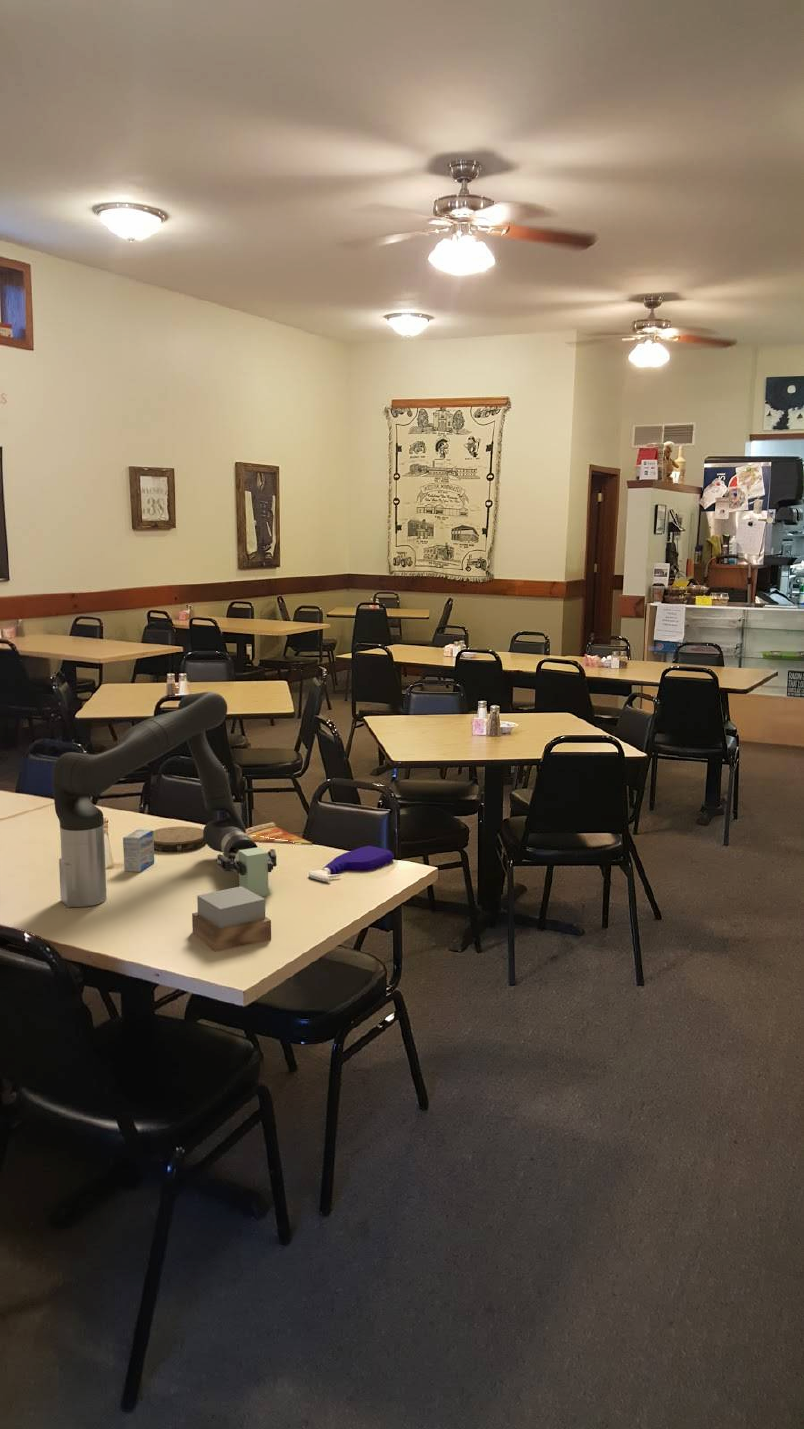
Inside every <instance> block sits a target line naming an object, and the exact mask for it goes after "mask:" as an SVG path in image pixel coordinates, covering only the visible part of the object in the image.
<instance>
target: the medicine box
mask: <svg viewBox="0 0 804 1429" xmlns="http://www.w3.org/2000/svg"><path fill="white" fill-rule="evenodd" d="M153 831H154V830H152V829H142V828H141V829H136V830H134V831H132V832H130V834H128V835H126V836H124V837H122V850H123V852H122V853H123V866H124V867H123V868H124V869H123V870H124V872H132V873H133V872H134V873H135V872H136V873H142V872H143V871H144V870H145V871H146V870H147V869H148V868H149V867H150V866H152V865H153V864H155V851H154V838H153Z"/></svg>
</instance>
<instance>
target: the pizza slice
mask: <svg viewBox="0 0 804 1429" xmlns="http://www.w3.org/2000/svg"><path fill="white" fill-rule="evenodd" d="M245 829H246V834H247V835H248V836H249V837H250V838H251V839H252V840H253V841H254V842H255V843H271V844H272V843H273V844H288V845H289V844H292V845H296V844H295V843H301V844H300V845H307V846H308V845H310V846H311V845H312V846H313V842H311V841H308V840H307V839H304V838H302V837H300V836H297V835H295V834H293V833H291V832H288V831H286V830H283V829H282V828H279V827H277V825H276V823H275V822H274V821H273V822H266V823H261V824H258V825H254V826H251V827H249V828H245ZM251 835H256V836H251ZM260 836H264V838H263V837H260ZM265 837H269V839H268V838H265ZM270 838H275V839H281V840H275V839H270ZM282 840H288V841H282ZM293 842H294V843H293Z"/></svg>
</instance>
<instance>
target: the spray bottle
mask: <svg viewBox="0 0 804 1429" xmlns="http://www.w3.org/2000/svg"><path fill="white" fill-rule="evenodd" d="M394 856H395V855H394V853H393V852H392V851H391V850H389V849H385V848H381V847H377V846H371V845H366V846H362V847H359V848H358V847H357V848H356V849H353V850H350V851H346V852H344V853H342V854H339V855H338V856H336V857H334V858H333V859H332V860H331V861H330V862H328V863H327V864H326V865H325V866H324V867H323V868H322V869H317V870H308V877H309V878H311V879H314V880H317V881H320V882H324V883H331V881H332V878H336V877H341V873H343V872H346V870H348V871H349V872H351V871H353V872H369V871H373V870H376V869H378V868H381V867H384V866H387V865H389V864H391V863H392V862H393V861H395V860H394V858H395V857H394ZM337 873H338V874H337Z"/></svg>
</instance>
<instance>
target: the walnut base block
mask: <svg viewBox="0 0 804 1429" xmlns="http://www.w3.org/2000/svg"><path fill="white" fill-rule="evenodd" d="M191 914H192V916H191V922H192V923H191V924H192V933H193V934H194V935H195V936H196V937H197V938H198V939H200V940H201V941H202V942H203V943H204V944H206V946H208V947H209V948H210V949H211V950H213V952H219V951H224V950H229V949H234V948H239V947H244V946H248V945H253V944H257V943H261V942H267V941H270V940H272V920H271V919H270V918H269V917H267V916H266V915H265V918H264V919H260V920H255V921H251V922H247V923H243V924H239V925H234V926H230V927H226V928H222V929H220V928H219V927H217V926H215V925H214V924H212V923H211V922H209V921H207V920H206V919H204V918H203V917H201V916H200V915H198V911H197V912H192V913H191Z"/></svg>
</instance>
